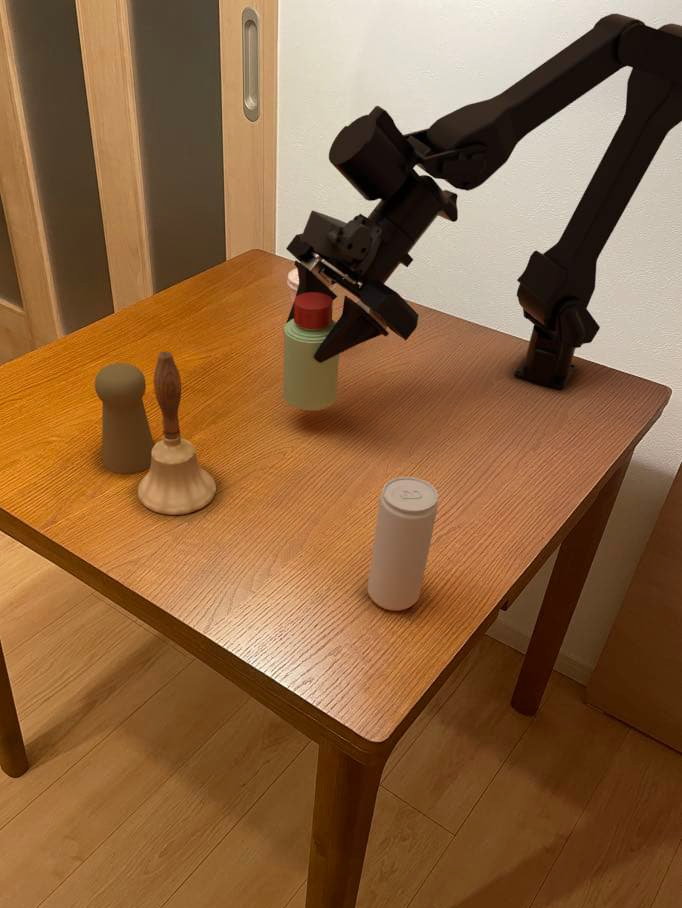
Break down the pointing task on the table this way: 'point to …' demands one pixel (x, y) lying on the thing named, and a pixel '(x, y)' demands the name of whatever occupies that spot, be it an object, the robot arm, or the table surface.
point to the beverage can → (402, 542)
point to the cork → (124, 419)
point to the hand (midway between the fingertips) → (301, 347)
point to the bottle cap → (313, 310)
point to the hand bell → (173, 454)
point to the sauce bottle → (308, 369)
